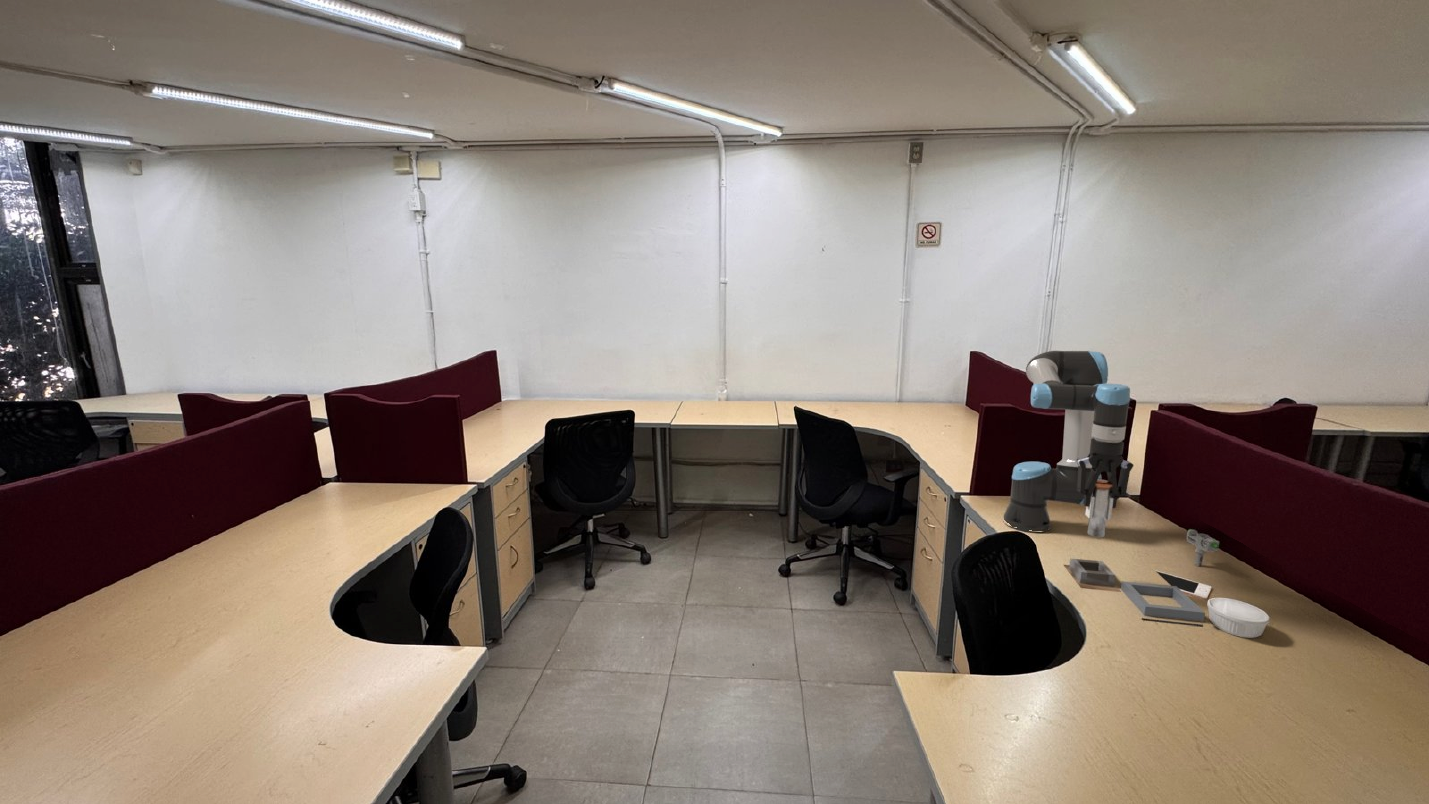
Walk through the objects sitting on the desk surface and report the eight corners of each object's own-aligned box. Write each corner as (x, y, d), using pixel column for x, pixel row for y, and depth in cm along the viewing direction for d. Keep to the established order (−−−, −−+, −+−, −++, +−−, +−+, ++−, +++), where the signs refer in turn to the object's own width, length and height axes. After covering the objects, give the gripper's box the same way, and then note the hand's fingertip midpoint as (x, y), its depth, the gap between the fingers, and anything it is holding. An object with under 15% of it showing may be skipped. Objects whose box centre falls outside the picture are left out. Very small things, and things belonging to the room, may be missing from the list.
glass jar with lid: (1082, 530, 160) (1088, 478, 157) (1101, 531, 159) (1108, 479, 156) (1089, 537, 155) (1095, 484, 152) (1109, 538, 154) (1116, 485, 151)
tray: (1120, 594, 153) (1122, 581, 152) (1174, 599, 150) (1176, 586, 149) (1143, 620, 141) (1145, 606, 140) (1202, 626, 138) (1205, 612, 137)
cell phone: (1206, 601, 150) (1206, 597, 149) (1126, 577, 163) (1127, 574, 163) (1211, 589, 155) (1211, 586, 155) (1134, 567, 169) (1134, 564, 168)
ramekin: (1194, 613, 144) (1197, 595, 143) (1243, 617, 141) (1247, 598, 140) (1224, 638, 133) (1227, 619, 132) (1278, 643, 131) (1282, 624, 130)
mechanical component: (1190, 557, 173) (1195, 528, 171) (1216, 573, 163) (1222, 543, 161) (1180, 557, 173) (1185, 528, 171) (1206, 573, 163) (1211, 542, 161)
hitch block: (1062, 569, 168) (1064, 554, 167) (1099, 572, 165) (1101, 557, 164) (1080, 592, 154) (1082, 576, 153) (1120, 596, 152) (1122, 580, 151)
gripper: (1078, 441, 150) (1069, 520, 155) (1149, 444, 146) (1138, 525, 150) (1068, 434, 157) (1060, 510, 162) (1136, 437, 153) (1125, 514, 157)
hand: (1097, 517), depth 156 cm, fingers closed on glass jar with lid, 4 cm apart
